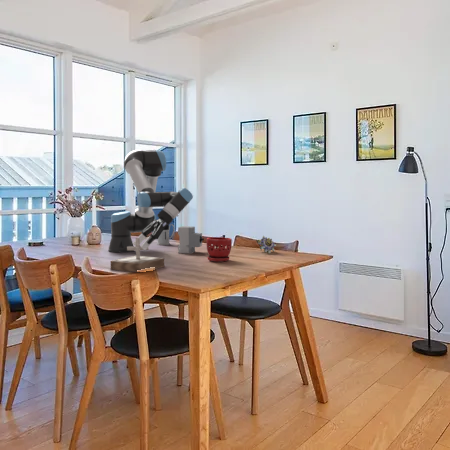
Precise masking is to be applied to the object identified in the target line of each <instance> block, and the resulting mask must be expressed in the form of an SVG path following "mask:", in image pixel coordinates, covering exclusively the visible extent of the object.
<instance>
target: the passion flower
mask: <svg viewBox="0 0 450 450" xmlns="http://www.w3.org/2000/svg"><path fill="white" fill-rule="evenodd" d="M256 243H257V244H258V246H259V249H260V250H263V251H264V253H267V254H269V255H270V254H271V251H272V252H275V247H277V244H275V242H274V241H273V239H272V238H270V237H265V236H264V235H263V236H262V238H261V239H257V240H256Z"/></svg>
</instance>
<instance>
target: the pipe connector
mask: <svg viewBox="0 0 450 450" xmlns="http://www.w3.org/2000/svg"><path fill="white" fill-rule="evenodd" d="M135 240H136V246H135V245H133V247H127V250H133V251H134V252H135V256H136V259H140V256H141V251H149V247H148V248H147V249H146V250H144V249H143V248H141V247H140V246H141V243H140V242H139V238H138V237H135Z"/></svg>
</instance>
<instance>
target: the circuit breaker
mask: <svg viewBox="0 0 450 450" xmlns="http://www.w3.org/2000/svg"><path fill="white" fill-rule="evenodd" d="M177 228H178V229H177V235H178V236H179V244H178V245H177V251H178V252H177V253H178V254H193V253H195V252H196V248H199V247H202V246H203V241H205V240H204V239H205V238H204V237H203V232H196V227H195V226H188V225H187V226H185V225H184V226H182V225H181V226H179V227H177Z"/></svg>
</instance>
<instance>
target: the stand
mask: <svg viewBox="0 0 450 450" xmlns="http://www.w3.org/2000/svg"><path fill="white" fill-rule="evenodd" d="M150 267H155V268H156V269H160V268H164V267H165V258H164V257H154V256H141V255H140V259H136V255H132V256H127V257H122V258H118V259H114V260H113V259H112V260H110V270H115V271H124V272H131V271H137V270H141V269H145V268H150ZM156 269H155V270H156Z"/></svg>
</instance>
